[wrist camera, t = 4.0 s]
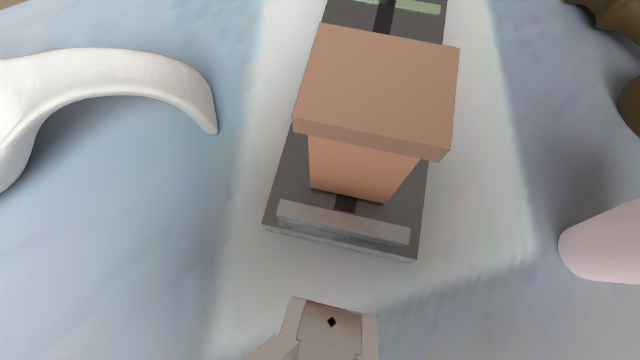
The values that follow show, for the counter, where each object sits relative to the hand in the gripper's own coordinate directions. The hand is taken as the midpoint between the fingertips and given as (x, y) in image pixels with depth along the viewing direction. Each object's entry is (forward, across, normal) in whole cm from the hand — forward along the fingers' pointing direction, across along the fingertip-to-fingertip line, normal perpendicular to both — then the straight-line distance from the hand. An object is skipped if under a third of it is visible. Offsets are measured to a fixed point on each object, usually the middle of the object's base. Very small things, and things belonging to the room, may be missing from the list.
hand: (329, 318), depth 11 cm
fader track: (+19, 0, -5) cm, 20 cm away
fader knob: (+12, 0, -1) cm, 12 cm away
